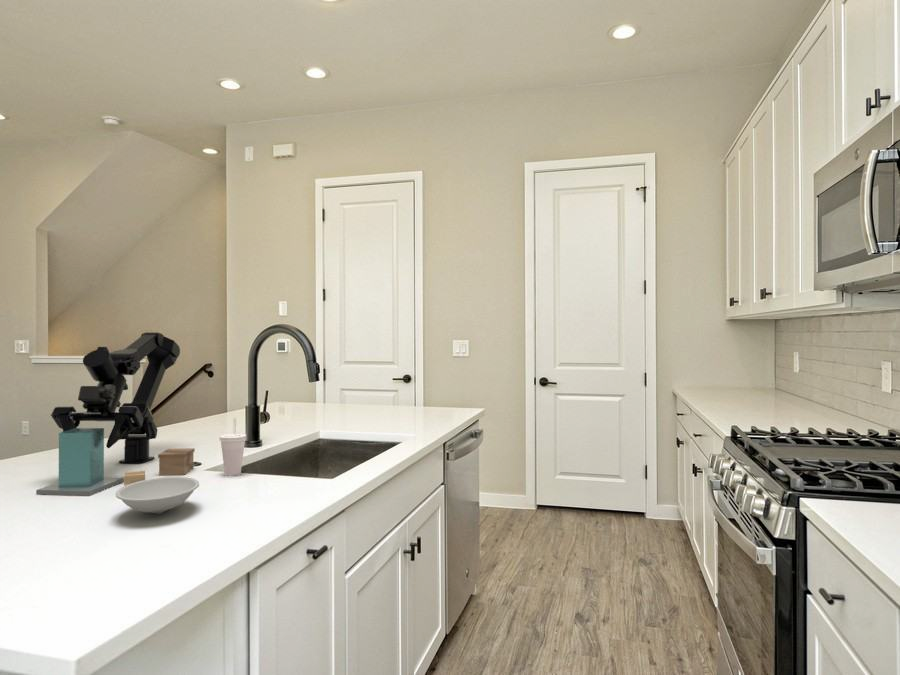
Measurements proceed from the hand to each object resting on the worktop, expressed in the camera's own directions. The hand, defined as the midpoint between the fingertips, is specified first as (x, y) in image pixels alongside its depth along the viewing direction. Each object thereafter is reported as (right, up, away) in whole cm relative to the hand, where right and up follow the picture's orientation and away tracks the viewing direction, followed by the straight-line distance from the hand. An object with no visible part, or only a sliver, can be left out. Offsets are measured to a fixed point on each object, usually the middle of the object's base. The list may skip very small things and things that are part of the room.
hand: (86, 447), depth 136 cm
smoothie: (+29, -9, +12) cm, 33 cm away
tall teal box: (0, -8, -2) cm, 8 cm away
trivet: (0, -9, -2) cm, 9 cm away
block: (+13, -9, -4) cm, 16 cm away
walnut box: (+14, -9, +14) cm, 22 cm away
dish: (+26, -9, -19) cm, 34 cm away
